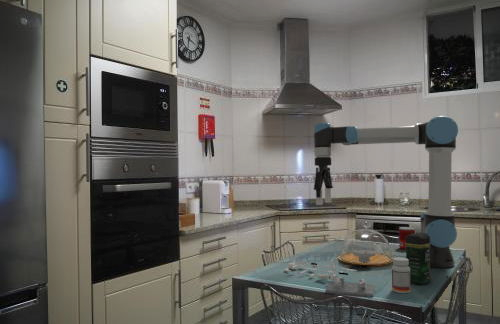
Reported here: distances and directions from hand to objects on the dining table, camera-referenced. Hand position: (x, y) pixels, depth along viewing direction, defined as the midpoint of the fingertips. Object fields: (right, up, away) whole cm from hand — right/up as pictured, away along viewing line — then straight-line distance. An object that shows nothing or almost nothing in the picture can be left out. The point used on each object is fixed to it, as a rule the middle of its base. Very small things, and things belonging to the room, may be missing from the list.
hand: (323, 203), depth 183 cm
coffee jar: (+30, -27, -30) cm, 51 cm away
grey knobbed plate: (+2, -27, -39) cm, 48 cm away
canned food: (+51, -28, +34) cm, 67 cm away
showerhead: (+17, -28, -4) cm, 33 cm away
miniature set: (-7, -27, -19) cm, 34 cm away
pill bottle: (+20, -27, -41) cm, 53 cm away
